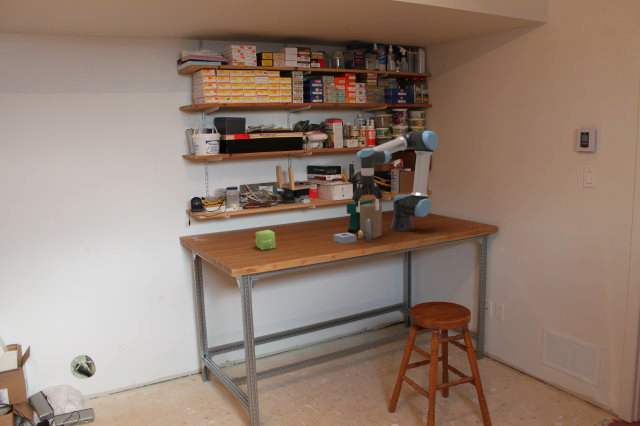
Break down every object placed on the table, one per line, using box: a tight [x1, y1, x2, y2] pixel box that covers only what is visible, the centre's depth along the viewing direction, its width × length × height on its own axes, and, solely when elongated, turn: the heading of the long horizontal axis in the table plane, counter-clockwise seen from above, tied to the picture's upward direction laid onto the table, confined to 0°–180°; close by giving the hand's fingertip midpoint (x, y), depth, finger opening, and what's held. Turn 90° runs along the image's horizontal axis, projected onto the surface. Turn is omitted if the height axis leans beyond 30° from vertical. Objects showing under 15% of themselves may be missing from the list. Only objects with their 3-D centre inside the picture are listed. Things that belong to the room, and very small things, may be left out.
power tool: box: [346, 198, 375, 236], centre depth 341 cm, size 32×7×20 cm, turn 146°
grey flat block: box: [332, 232, 357, 245], centre depth 312 cm, size 10×10×4 cm
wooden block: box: [360, 203, 383, 239], centre depth 323 cm, size 10×10×20 cm
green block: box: [255, 229, 277, 251], centre depth 300 cm, size 18×10×10 cm, turn 24°
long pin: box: [365, 218, 372, 243], centre depth 308 cm, size 3×3×14 cm
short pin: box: [357, 230, 364, 240], centre depth 318 cm, size 3×3×5 cm
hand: (367, 211), depth 306 cm, fingers open, 13 cm apart
